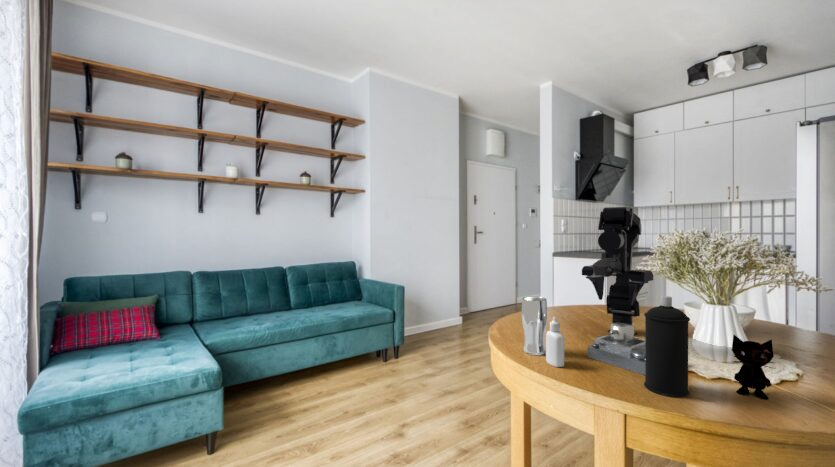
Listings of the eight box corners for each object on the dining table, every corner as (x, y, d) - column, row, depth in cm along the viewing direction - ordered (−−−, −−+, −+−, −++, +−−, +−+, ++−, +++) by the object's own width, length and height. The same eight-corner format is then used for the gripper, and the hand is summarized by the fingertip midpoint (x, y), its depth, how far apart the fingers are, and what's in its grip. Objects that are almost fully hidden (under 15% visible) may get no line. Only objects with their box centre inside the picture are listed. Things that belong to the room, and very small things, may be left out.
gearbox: (616, 347, 109) (616, 332, 109) (678, 364, 95) (678, 346, 95) (587, 357, 101) (587, 340, 101) (650, 377, 88) (650, 357, 88)
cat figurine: (729, 394, 78) (730, 337, 78) (729, 384, 84) (730, 330, 83) (776, 404, 74) (777, 343, 73) (773, 392, 79) (774, 335, 79)
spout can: (617, 341, 105) (617, 321, 105) (638, 346, 100) (638, 325, 100) (600, 346, 101) (600, 326, 100) (621, 352, 96) (621, 330, 96)
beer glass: (544, 348, 109) (544, 296, 109) (550, 356, 102) (550, 301, 102) (519, 347, 110) (519, 296, 110) (524, 355, 103) (523, 301, 103)
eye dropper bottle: (563, 360, 99) (563, 315, 99) (564, 368, 94) (564, 320, 93) (545, 359, 100) (545, 314, 100) (545, 366, 95) (545, 319, 95)
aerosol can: (691, 401, 76) (691, 302, 75) (643, 392, 80) (643, 298, 80) (688, 386, 83) (688, 295, 82) (644, 378, 87) (644, 292, 87)
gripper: (570, 249, 115) (570, 300, 115) (633, 252, 99) (633, 311, 100) (592, 247, 121) (592, 296, 121) (654, 250, 105) (654, 306, 106)
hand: (615, 302), depth 112 cm, fingers open, 9 cm apart
